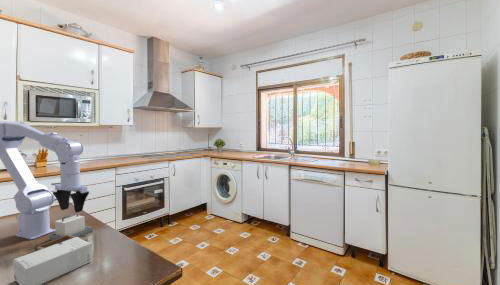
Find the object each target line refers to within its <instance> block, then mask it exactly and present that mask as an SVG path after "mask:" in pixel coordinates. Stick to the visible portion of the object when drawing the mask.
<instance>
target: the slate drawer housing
mask: <svg viewBox="0 0 500 285" xmlns="http://www.w3.org/2000/svg"><path fill="white" fill-rule="evenodd" d="M88 233H89V234H91V233H93V226H89V225H85V229H84V230H82V231H79V232H77V233H74V234H72V235H71V236H76V237H80V238H83V236H86V234H87V235H89V234H88ZM60 237H61V236H57V235H56V232H55V231H54V232H51V233H48V240H49V241H52V240H54V239H57V238H60Z"/></svg>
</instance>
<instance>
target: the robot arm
mask: <svg viewBox="0 0 500 285" xmlns="http://www.w3.org/2000/svg"><path fill="white" fill-rule="evenodd" d="M26 138H27V139H30V140H34V141H37V142H38V143H39V146H41V147H42V148H45V149H47V150H50V151H51V152H54V153H55V155H56V156H57V161H58V162H59V171H60V183H58V184H55V185H54V190H55V191H53V192H52V191H51V190H49V188H48V187H47V186H46V185H44V184H41V183H38V182H37V180H36V179H35V177H34V175H33V173H32V172H31V170H30V168H29V167H28V164H27V163H26V162H25V160H24V158H23V156H22V155H21V153H20V152H19V150H18V147H19V146H21V145H22V143H23V142H24V141H25V139H26ZM83 152H84V146H83V144H82V143H81V142H80V141H79V140H76V139H75V140H69V138H68V137H62V136H60V135H58V133H57V132H51V131H50V132H46V133H45V132H43V131H41V130H39V129H37V128H35V127H33V126H31V125H30V124H29V123H25V122H24V121H4V120H3V121H1V120H0V160H1V162H2V164H3V166H4V167H5V169H6V171H7V173H8V174H9V176H10V178H11V179H12V181H13V183H14V184H15V187H16V188H17V192H16V193H15V194H14V196H13V199H14V201H15V208H16V210H17V211H18V212H19V213H20V214H19V215H18V216H17V217H18V218H17V224H18V225H17V227H18V233H17V234H15V237H19V238H24V239H28V240H34V239H37V238H40V237H42V236H45V235H47V234H48V235H49V234H52V233H55V228H54V229H53V228H51V226H50V224H51V223H50V209H51V206H52V205H53V204H54V202H55V199H56V200H57V203H58V205H59V208H60V211H64V210H68V209H69V207H70V198H71V199H72V203H73V208H74V213H75V214H76V213H80V212H82V211H84V210H83V209H84V206H85V202H86V199H87V197H88V196H89V194H90V191H89V190H88V186H85V185H83V184H81V165H80V160H81V159H80V155H82V154H83ZM73 192H74V193H73Z"/></svg>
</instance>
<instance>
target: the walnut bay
mask: <svg viewBox="0 0 500 285" xmlns="http://www.w3.org/2000/svg"><path fill="white" fill-rule="evenodd" d="M75 237H76V236H71V235H65V236H62V237H60V238H57V239H54V240H52V241H50V240H49V241H47V242H44V243H41V244H39V245H36V246H35V247H34V252H36V251H38V250H41V249H44V248H47V247H49V246H52V245H55V244H58V243H61V242H63V241H66V240H69V239H72V238H75ZM79 238H80V239H82V240H84V241H87V242H89V240H88V238H84V237H79Z"/></svg>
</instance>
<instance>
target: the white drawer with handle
mask: <svg viewBox="0 0 500 285" xmlns="http://www.w3.org/2000/svg"><path fill="white" fill-rule="evenodd" d="M85 218H86V217H85V216H83V215H80V214H79V212H77V213H76V212H75V213H73V214H71V215H67V216H64V217H62V218H61V219H58V220H55V221H54V227H55V228H54V229H55V231H54V233H55V232H56V235H57V236H61V237H62V236H65V235H72V234H74V233H77V232H79V231H82V230H84V229H85V226H86V219H85Z"/></svg>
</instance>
